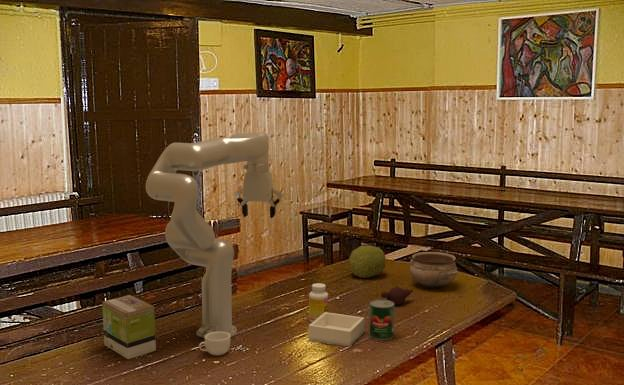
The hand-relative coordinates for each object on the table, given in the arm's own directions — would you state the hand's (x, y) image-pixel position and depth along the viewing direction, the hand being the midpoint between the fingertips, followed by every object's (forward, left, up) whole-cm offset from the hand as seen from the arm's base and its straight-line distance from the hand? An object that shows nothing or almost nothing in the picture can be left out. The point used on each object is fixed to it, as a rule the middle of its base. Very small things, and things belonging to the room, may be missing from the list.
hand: (258, 216), depth 234 cm
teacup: (-39, -5, -35) cm, 53 cm away
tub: (-11, -34, -35) cm, 50 cm away
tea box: (-46, +21, -35) cm, 62 cm away
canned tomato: (-5, -47, -35) cm, 59 cm away
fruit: (+60, -21, -35) cm, 72 cm away
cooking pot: (+57, -50, -35) cm, 83 cm away
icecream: (+29, -43, -35) cm, 62 cm away
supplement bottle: (0, -23, -35) cm, 42 cm away
